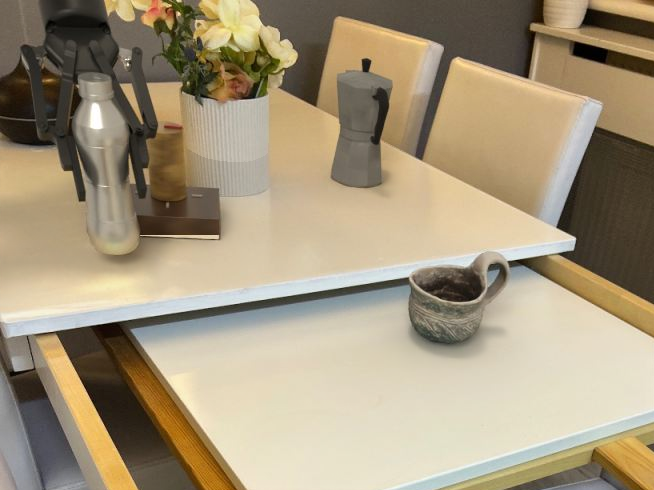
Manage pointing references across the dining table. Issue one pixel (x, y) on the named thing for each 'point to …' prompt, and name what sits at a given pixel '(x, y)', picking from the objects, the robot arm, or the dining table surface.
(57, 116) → the robot arm
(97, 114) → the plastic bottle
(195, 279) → the dining table surface
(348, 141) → the coffeepot
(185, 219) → the dark brown flat block
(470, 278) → the mug
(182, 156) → the candle
